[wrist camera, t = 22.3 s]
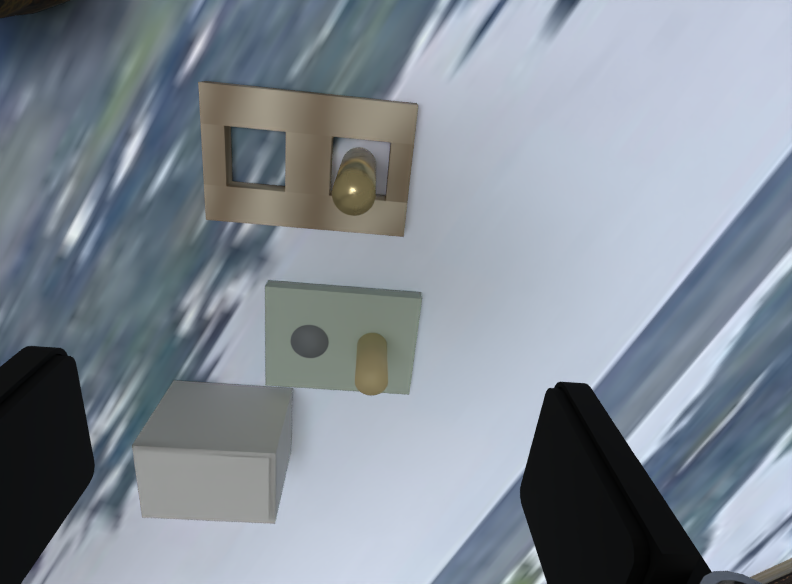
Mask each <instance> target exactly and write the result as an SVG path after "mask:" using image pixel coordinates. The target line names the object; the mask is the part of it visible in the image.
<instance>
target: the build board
mask: <svg viewBox="0 0 792 584" xmlns="http://www.w3.org/2000/svg"><path fill="white" fill-rule="evenodd" d="M198 84H199V102H200V120H201V139H202V157H203V175H204V194H205V212H206V220H216V221H227V222H239V223H250V224H262V225H273V226H285V227H296V228H308V229H320V230H331V231H343V232H354V233H366V234H377V235H389V236H400V237H404V228H405V219H406V210H407V201H408V192H409V183H410V174H411V165H412V156H413V148H414V139H415V130H416V121H417V112H418V104H417V103H408V102H399V101H389V100H380V99H371V98H361V97H352V96H342V95H333V94H323V93H314V92H304V91H295V90H285V89H276V88H267V87H257V86H248V85H238V84H229V83H219V82H210V81H203V82H198ZM231 126H233V127H243V128H253V129H263V130H273V131H283V132H286V170H285V186H277V185H266V184H255V183H244V182H234V181H232V152H231ZM333 137H343V138H353V139H363V140H373V141H383V142H391V145H390V155H389V166H388V177H387V187H386V196H385V195H376V197H375V201H374V204H373V206H372V207H371V208H370V209H369V210H368V211H367V212H366V213H364V214H362V215H358V216H351V215H347V214H344V213H343V212H341V211H340V210H339V209H338V208H337V207H336V206H335V204H334V202H333V199H332V191H331V175H332V154H333Z"/></svg>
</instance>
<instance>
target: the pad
mask: <svg viewBox="0 0 792 584" xmlns="http://www.w3.org/2000/svg"><path fill="white" fill-rule="evenodd" d="M421 303H422V296H421V292H409V291H397V290H384V289H371V288H359V287H346V286H333V285H321V284H308V283H295V282H283V281H270V280H268V282H267V284H266V286H265V377H266V385H267V386H282V387H298V388H313V389H329V390H345V391H360V392H361V393H363V394H366V395H377V394H380V393H391V394H407V395H409V391H410V384H411V377H412V369H413V362H414V354H415V347H416V340H417V332H418V325H419V317H420V310H421Z"/></svg>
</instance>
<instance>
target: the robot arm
mask: <svg viewBox="0 0 792 584" xmlns="http://www.w3.org/2000/svg"><path fill="white" fill-rule="evenodd" d="M94 467H95V464H94V457H93V452H92V447H91V441H90V436H89V431H88V425H87V420H86V414H85V409H84V404H83V398H82V393H81V387H80V382H79V377H78V371H77V366H76V362H75V360H74V358H73V357H71V356H67V353H66V352H65V350H64V349H61V348H53V347H38V346H27V347H25V348H23V349H22V350H21V351H19V352H18V353H17V354H16V355H14V356H13V357H12V358H11V359H9V360H8V361H7V362H6V363H4V364H3V365H2V366H1V367H0V584H21V583H22V581H23V580H24V578H25V577H26V575H27V574H28V572H29V571H30V570H31V568H32V567H33V565H34V564H35V562H36V561H37V559H38V558H39V556H40V555H41V553H42V552H43V551H44V549H45V548H46V546H47V545H48V543H49V542H50V540H51V539H52V537H53V536H54V534H55V533H56V532H57V530H58V529H59V527H60V526H61V524H62V523H63V521H64V520H65V518H66V517H67V515H68V514H69V513H70V511H71V510H72V508H73V507H74V505H75V504H76V502H77V501H78V499H79V498H80V496H81V495H82V494H83V492H84V491H85V489H86V488H87V486H88V485H89V483H90V481H91V479H92V477H93V473H94ZM520 498H521V504H522V507H523V510H524V514H525V517H526V520H527V523H528V526H529V529H530V532H531V535H532V538H533V541H534V544H535V547H536V550H537V554H538V557H539V560H540V563H541V566H542V569H543V572H544V575H545V578H546V581H547V584H762V583H761V582H759V581H756V580H754V579H752V578H750V577H747V576H745V575H743V574H739V573H734V572H730V571H714V572H711V570H710V569H709V567H708V565H707V564H706V562H705V561H704V559H703V558H702V556H701V555H700V553H699V552H698V550H697V549H696V547H695V546H694V544H693V543H692V541H691V540H690V538H689V536H688V535H687V533H686V532H685V530H684V529H683V527H682V526H681V524H680V523H679V521H678V520H677V518H676V517H675V515H674V514H673V512H672V511H671V509H670V507H669V506H668V504H667V503H666V501H665V500H664V498H663V497H662V495H661V494H660V492H659V491H658V489H657V488H656V486H655V485H654V483H653V482H652V480H651V478H650V477H649V475H648V474H647V472H646V471H645V469H644V468H643V466H642V465H641V463H640V462H639V460H638V459H637V458H636V456H635V455H634V453H633V452H632V450H631V448H630V447H629V445H628V444H627V442H626V441H625V439H624V438H623V436H622V435H621V433H620V432H619V430H618V429H617V427H616V426H615V424H614V422H613V421H612V419H611V418H610V416H609V415H608V413H607V412H606V410H605V409H604V407H603V406H602V404H601V403H600V401H599V400H598V398H597V396H596V395H595V393H594V392H593V390H592V389H591V387H590V386H589V385H588V384H585V383H572V382H558V383H557V384H556V385H555V387H554V388H549V389H548V390H547V391H546V394H545V397H544V401H543V405H542V408H541V412H540V416H539V419H538V423H537V427H536V431H535V434H534V438H533V442H532V445H531V449H530V453H529V457H528V460H527V464H526V468H525V472H524V475H523V479H522V483H521V487H520Z"/></svg>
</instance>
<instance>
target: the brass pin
mask: <svg viewBox="0 0 792 584" xmlns="http://www.w3.org/2000/svg"><path fill="white" fill-rule="evenodd" d="M375 197H376V163H375V159H374V157H373V155H372V154H371V153H370V152H369V151H368V150H366V149H364V148H353V149H350V150H349V151H348V152H347V153H346V154H345V155H344V157H343V159H342V162H341V165H340V168H339V171H338V174H337V176H336V179H335V182H334V185H333V188H332V199H333V202H334V204H335V206H336V207H337V208H338V209H339V210H340V211H341V212H343V213H344V214H347V215H351V216H358V215H362V214H364V213H366V212H367V211H368V210H369V209H370V208H371V207H372V206H373V204H374V201H375Z"/></svg>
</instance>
